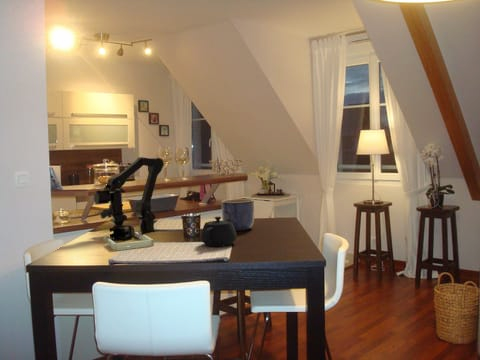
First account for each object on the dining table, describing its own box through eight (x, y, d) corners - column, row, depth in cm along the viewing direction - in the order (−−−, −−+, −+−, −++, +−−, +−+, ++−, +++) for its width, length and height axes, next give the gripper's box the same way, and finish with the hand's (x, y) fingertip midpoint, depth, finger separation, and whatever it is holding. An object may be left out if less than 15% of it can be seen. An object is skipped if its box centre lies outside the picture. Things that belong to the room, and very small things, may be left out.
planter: (217, 231, 240) (215, 202, 239) (230, 226, 256) (229, 198, 255) (247, 232, 234) (246, 202, 233) (259, 227, 250) (258, 198, 248)
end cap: (135, 238, 232) (134, 224, 231) (126, 241, 225) (125, 227, 225) (118, 237, 236) (117, 224, 235) (109, 240, 229) (108, 226, 228)
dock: (136, 235, 238) (136, 229, 238) (141, 238, 229) (141, 232, 229) (103, 239, 231) (102, 233, 231) (106, 243, 222) (106, 236, 222)
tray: (144, 240, 225) (144, 234, 225) (153, 245, 211) (153, 239, 211) (107, 244, 218) (107, 239, 218) (114, 250, 204) (114, 244, 204)
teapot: (223, 251, 194) (222, 221, 194) (190, 249, 201) (188, 220, 200) (247, 239, 217) (246, 212, 216) (216, 238, 224) (215, 212, 223)
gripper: (96, 202, 243) (98, 232, 244) (102, 205, 226) (104, 238, 227) (118, 200, 248) (120, 230, 249) (126, 203, 231) (128, 235, 232)
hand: (118, 233), depth 239 cm, fingers closed
